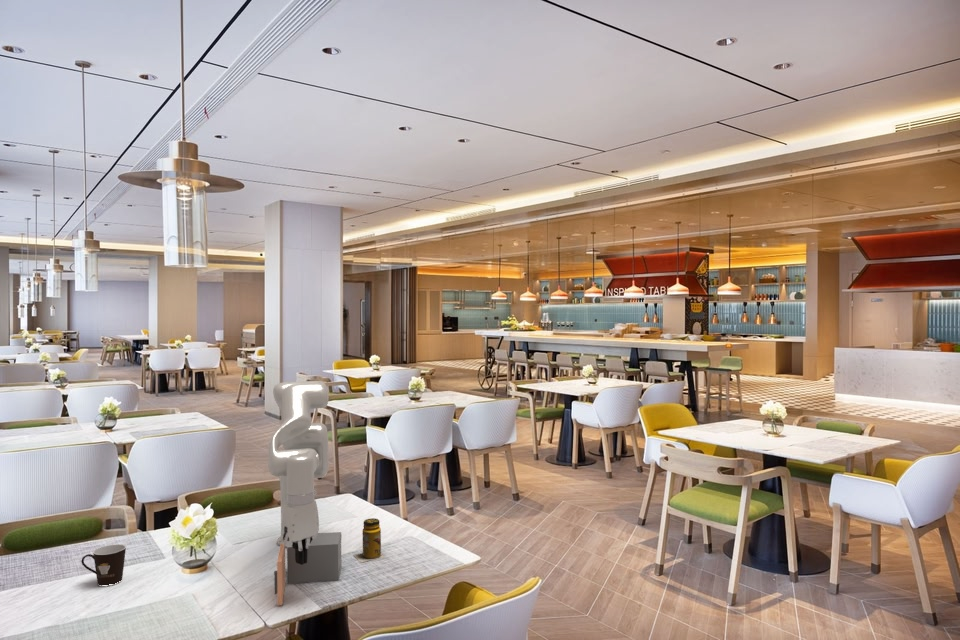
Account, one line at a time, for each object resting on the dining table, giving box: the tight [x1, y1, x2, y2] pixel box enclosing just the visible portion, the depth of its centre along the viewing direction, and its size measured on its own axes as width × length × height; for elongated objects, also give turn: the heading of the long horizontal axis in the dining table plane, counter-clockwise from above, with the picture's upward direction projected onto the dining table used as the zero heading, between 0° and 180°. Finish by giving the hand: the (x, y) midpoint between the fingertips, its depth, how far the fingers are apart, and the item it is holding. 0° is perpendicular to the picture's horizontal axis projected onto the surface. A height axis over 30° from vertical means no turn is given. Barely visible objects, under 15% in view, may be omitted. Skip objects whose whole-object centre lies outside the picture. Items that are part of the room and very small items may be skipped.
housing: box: [286, 531, 343, 585], centre depth 192 cm, size 11×15×12 cm
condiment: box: [353, 517, 386, 563], centre depth 207 cm, size 7×8×12 cm
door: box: [273, 543, 286, 606], centre depth 178 cm, size 2×15×12 cm, turn 14°
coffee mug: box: [81, 544, 127, 585], centre depth 189 cm, size 12×9×10 cm
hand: (301, 562), depth 176 cm, fingers closed
